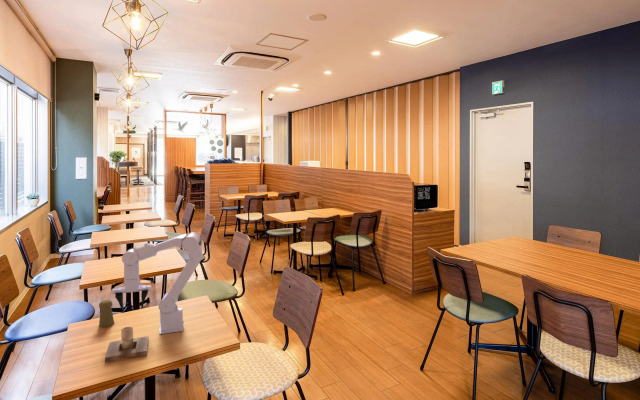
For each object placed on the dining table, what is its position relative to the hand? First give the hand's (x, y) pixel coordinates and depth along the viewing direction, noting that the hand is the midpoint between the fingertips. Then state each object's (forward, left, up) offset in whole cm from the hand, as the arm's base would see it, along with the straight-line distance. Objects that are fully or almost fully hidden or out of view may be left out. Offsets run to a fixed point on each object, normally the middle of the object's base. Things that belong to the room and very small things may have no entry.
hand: (132, 308), depth 158 cm
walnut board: (+1, +17, -10) cm, 20 cm away
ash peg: (+1, +17, -10) cm, 20 cm away
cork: (+12, -11, -11) cm, 19 cm away
